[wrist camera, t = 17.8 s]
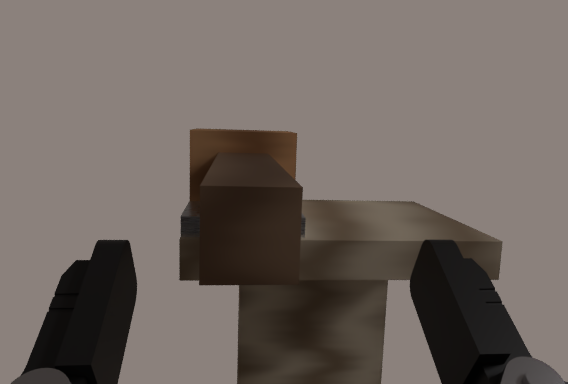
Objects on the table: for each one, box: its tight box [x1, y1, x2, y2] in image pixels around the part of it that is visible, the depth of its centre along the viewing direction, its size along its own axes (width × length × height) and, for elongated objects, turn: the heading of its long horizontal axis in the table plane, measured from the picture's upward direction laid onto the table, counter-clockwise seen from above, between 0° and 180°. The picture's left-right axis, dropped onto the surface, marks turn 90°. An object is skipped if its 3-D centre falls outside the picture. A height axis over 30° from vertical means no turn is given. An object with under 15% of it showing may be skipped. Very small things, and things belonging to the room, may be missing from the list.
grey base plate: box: [181, 201, 306, 238], centre depth 28 cm, size 6×11×1 cm, turn 6°
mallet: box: [190, 129, 303, 285], centre depth 22 cm, size 6×19×4 cm, turn 6°
